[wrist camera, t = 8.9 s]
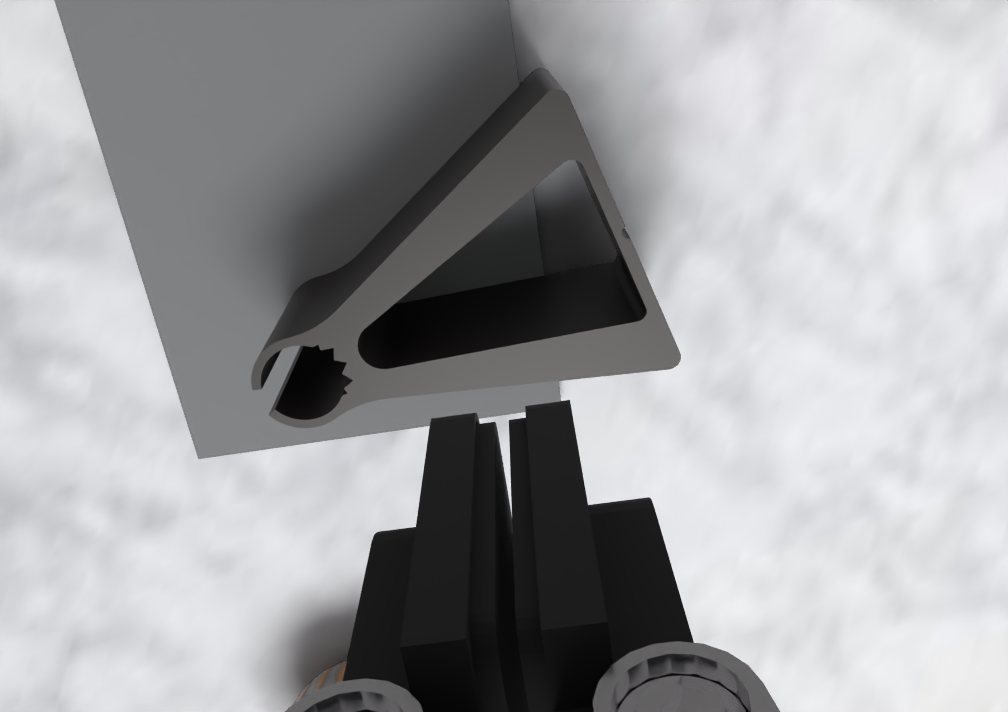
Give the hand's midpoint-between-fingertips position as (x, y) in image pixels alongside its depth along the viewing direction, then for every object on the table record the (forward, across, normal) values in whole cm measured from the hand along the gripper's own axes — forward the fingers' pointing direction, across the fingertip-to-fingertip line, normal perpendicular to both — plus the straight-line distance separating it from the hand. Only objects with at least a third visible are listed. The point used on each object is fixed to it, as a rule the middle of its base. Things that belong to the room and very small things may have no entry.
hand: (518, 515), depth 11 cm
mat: (+22, +6, 0) cm, 23 cm away
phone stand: (+18, -3, +1) cm, 19 cm away
